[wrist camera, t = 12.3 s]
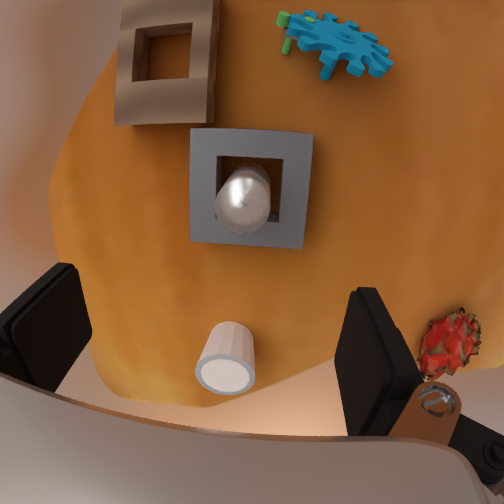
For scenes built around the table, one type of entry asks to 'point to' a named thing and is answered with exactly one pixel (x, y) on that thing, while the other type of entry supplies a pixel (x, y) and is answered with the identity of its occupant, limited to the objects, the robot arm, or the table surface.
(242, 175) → the axle
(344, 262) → the table surface
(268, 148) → the socket block
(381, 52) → the gear
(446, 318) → the dragon fruit
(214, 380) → the white fluted cup
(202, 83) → the brown rectangular frame
